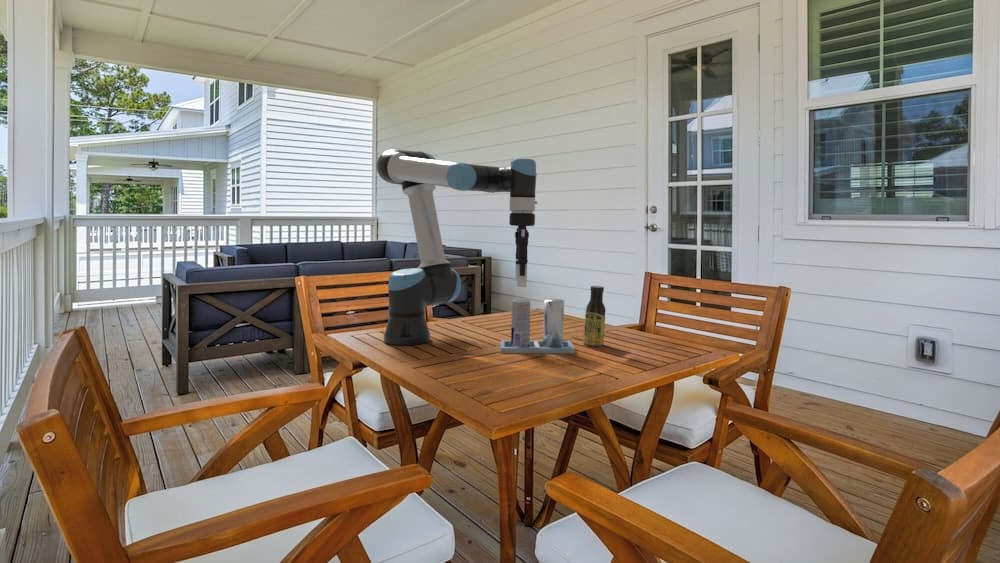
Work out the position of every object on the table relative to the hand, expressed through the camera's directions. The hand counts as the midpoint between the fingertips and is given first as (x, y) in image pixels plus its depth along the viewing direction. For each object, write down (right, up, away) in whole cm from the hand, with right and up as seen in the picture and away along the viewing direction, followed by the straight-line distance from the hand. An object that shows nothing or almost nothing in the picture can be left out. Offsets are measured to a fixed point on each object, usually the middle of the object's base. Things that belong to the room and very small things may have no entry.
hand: (520, 283), depth 163 cm
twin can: (+10, -20, +2) cm, 22 cm away
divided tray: (+5, -21, +3) cm, 22 cm away
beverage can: (0, -20, +2) cm, 20 cm away
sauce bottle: (+23, -21, +9) cm, 32 cm away
